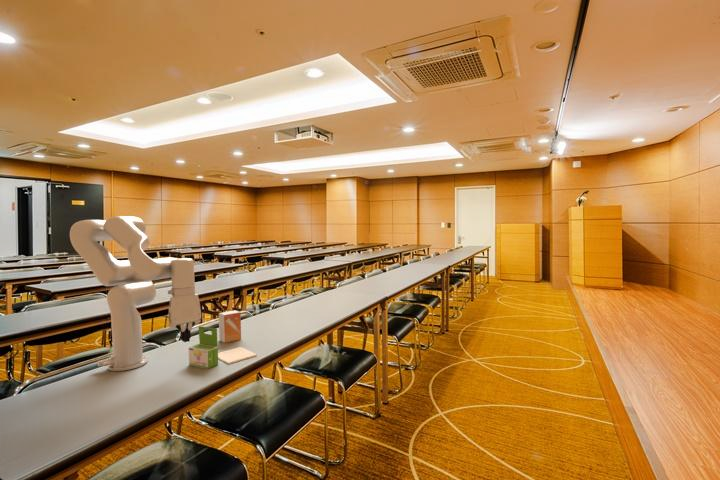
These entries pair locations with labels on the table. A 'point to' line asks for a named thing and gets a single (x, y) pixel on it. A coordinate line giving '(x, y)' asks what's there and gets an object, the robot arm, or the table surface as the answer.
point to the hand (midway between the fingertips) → (185, 340)
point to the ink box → (204, 350)
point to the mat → (235, 355)
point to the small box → (229, 326)
